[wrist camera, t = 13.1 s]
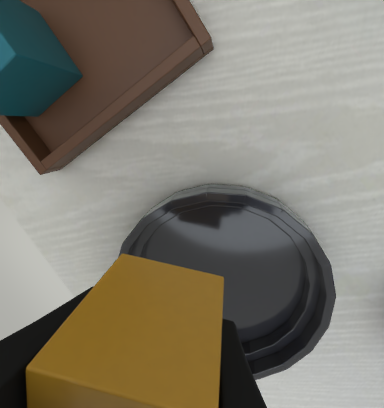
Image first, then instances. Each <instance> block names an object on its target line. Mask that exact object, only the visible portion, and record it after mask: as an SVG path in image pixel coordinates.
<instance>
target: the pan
mask: <svg viewBox="0 0 384 408" xmlns="http://www.w3.org/2000/svg"><path fill="white" fill-rule="evenodd" d="M121 254H127V255H132V256H136V257H140V258H145V259H149V260H153V261H158V262H162V263H166V264H171V265H175V266H179V267H184V268H188V269H192V270H197V271H201V272H205V273H210V274H214V275H218V276H222V277H224V292H223V316H222V319H226V320H230V321H234V323H235V324H236V328H237V331H238V335H239V338H240V341H241V344H242V347H243V350H244V353H245V356H246V359H247V361H248V364H249V367H250V369H251V371H252V374H253V376H254V379H255V380H257V379H261V378H264V377H267V376H269V375H272V374H275V373H278V372H281V371H284V370H286V369H288V368H290V367H291V366H292V365H294V364H295V363H296V362H298V361H299V360H301V359H302V358H303V357H305V356H306V355H307V354H309V353H310V352H311V351H312V350H313V349H314V347H315V346H316V345H317V343H318V342H319V340H320V339H321V337H322V336H323V334H324V333H325V332H326V330H327V329H328V327H329V324H330V320H331V316H332V312H333V307H334V303H335V299H336V293H335V287H334V281H333V274H332V268H331V264H330V262H329V260H328V258H327V257H326V255H325V253H324V252H323V250H322V248H321V247H320V245H319V243H318V242H317V240H316V238H315V236H314V235H313V233H312V232H311V231H310V229H309V228H308V227H307V225H306V224H305V223H304V221H303V220H302V219H301V218H299V217H298V216H297V215H296V214H295V213H293V212H292V211H291V210H290V209H289V208H287V207H286V206H285V205H284V204H282V203H281V202H280V201H279V200H277V199H276V198H273V197H271V196H268V195H266V194H263V193H261V192H258V191H256V190H253V189H250V188H248V187H244V186H234V185H220V184H206V185H202V186H198V187H194V188H190V189H186V190H182V191H178V192H176V193H175V194H173V195H172V196H170V197H168V198H167V199H165V200H164V201H162V202H161V203H159V204H157V205H156V206H154V207H153V208H152V209H151V210H150V211H149V212H148V213H147V214H146V215H145V216H144V217H143V218H142V219H141V220H140V222H139V223H138V224H137V225H136V227H135V228H134V229H133V231H132V232H131V233H130V234H129V236H128V237H127V238H126V240H125V241H124V242H123V244H122V247H121V251H120V254H119V256H120V255H121Z"/></svg>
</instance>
